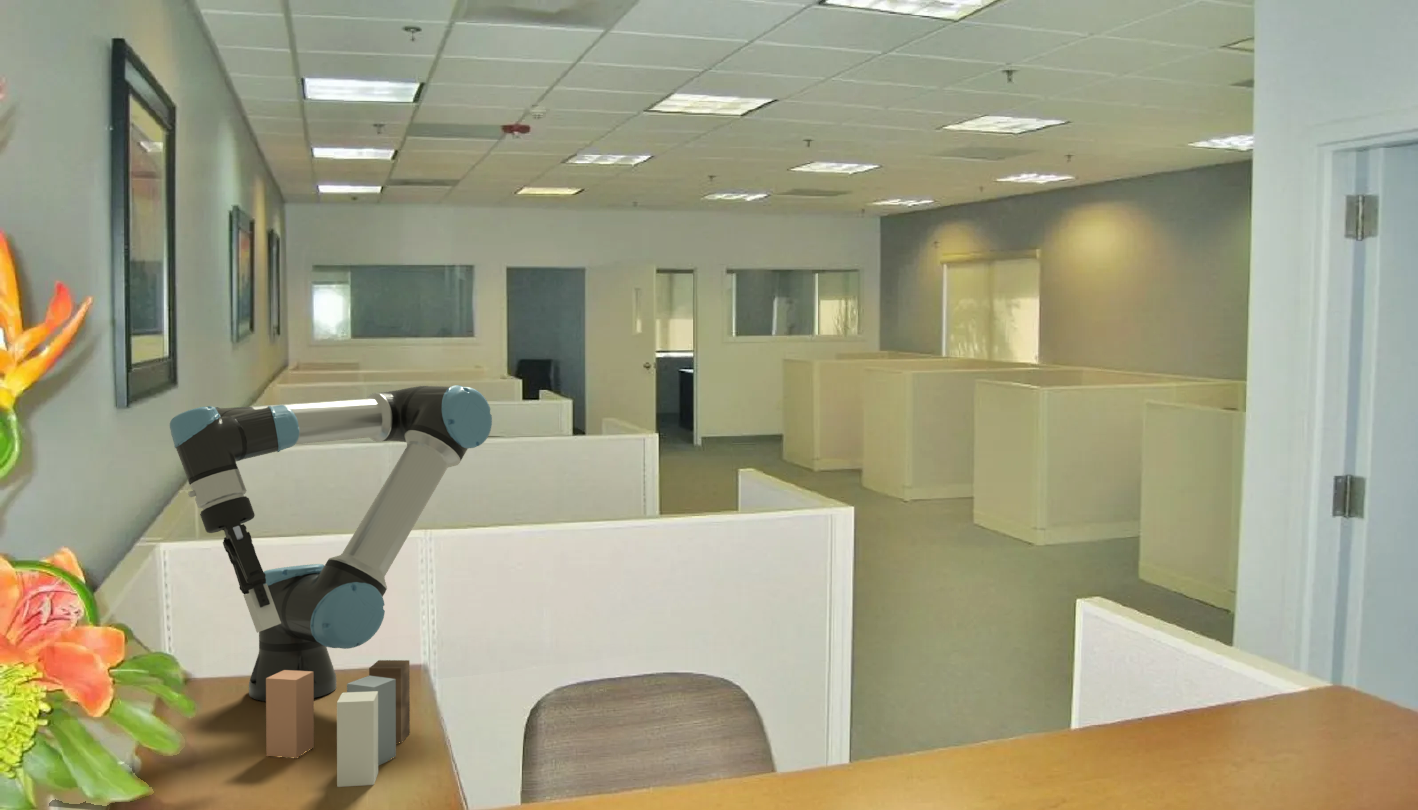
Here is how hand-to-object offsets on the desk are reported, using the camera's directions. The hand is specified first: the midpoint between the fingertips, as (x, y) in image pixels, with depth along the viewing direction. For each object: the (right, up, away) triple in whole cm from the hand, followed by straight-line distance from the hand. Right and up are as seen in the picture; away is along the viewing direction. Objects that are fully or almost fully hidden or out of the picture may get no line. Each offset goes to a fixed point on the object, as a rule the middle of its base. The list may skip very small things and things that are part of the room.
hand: (268, 628), depth 177 cm
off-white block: (+19, -18, -16) cm, 31 cm away
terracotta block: (+5, -18, -5) cm, 19 cm away
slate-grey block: (+19, -18, -8) cm, 27 cm away
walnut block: (+19, -18, +2) cm, 26 cm away
